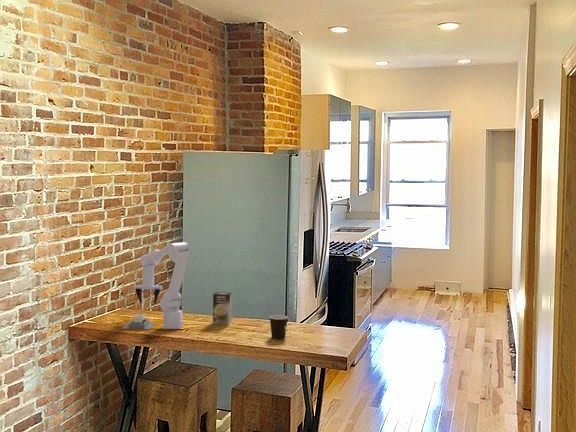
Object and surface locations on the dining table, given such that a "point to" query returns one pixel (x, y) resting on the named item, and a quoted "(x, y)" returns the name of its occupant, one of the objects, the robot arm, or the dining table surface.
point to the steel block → (139, 319)
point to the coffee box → (222, 308)
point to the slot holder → (139, 325)
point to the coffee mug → (278, 326)
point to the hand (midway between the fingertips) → (148, 303)
